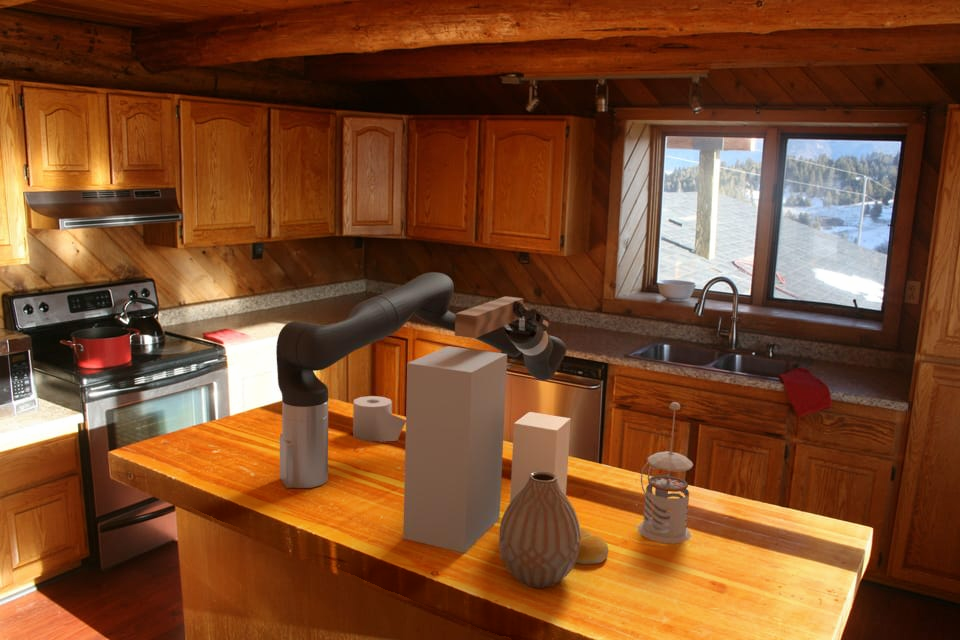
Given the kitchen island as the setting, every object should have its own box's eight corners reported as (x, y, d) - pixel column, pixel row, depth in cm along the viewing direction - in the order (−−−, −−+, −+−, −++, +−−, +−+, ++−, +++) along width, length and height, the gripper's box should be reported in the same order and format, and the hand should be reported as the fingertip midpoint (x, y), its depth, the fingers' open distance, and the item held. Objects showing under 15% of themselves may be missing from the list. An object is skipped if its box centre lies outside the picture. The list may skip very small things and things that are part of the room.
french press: (660, 547, 145) (672, 412, 140) (620, 521, 155) (630, 395, 151) (702, 537, 150) (715, 407, 145) (661, 513, 160) (671, 390, 155)
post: (550, 543, 145) (557, 430, 141) (508, 534, 148) (513, 423, 144) (563, 526, 152) (570, 418, 148) (523, 517, 155) (529, 411, 151)
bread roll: (586, 571, 136) (588, 549, 135) (548, 550, 142) (549, 529, 142) (618, 557, 141) (620, 536, 140) (580, 538, 148) (582, 517, 147)
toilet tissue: (402, 443, 194) (403, 409, 192) (348, 439, 195) (348, 405, 194) (410, 432, 203) (410, 398, 201) (357, 428, 204) (358, 395, 202)
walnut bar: (475, 338, 143) (476, 316, 143) (454, 335, 145) (455, 313, 144) (522, 317, 165) (523, 298, 164) (504, 315, 167) (505, 296, 166)
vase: (555, 607, 123) (561, 499, 120) (481, 582, 130) (486, 478, 127) (591, 573, 134) (598, 473, 131) (521, 551, 141) (526, 455, 138)
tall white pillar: (464, 553, 140) (471, 372, 134) (403, 538, 144) (407, 363, 139) (499, 518, 154) (507, 354, 148) (442, 506, 159) (447, 346, 153)
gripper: (555, 354, 172) (534, 325, 157) (492, 345, 177) (466, 317, 162) (562, 321, 174) (542, 289, 159) (500, 313, 179) (475, 282, 164)
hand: (504, 303), depth 160 cm, fingers closed on walnut bar, 4 cm apart
